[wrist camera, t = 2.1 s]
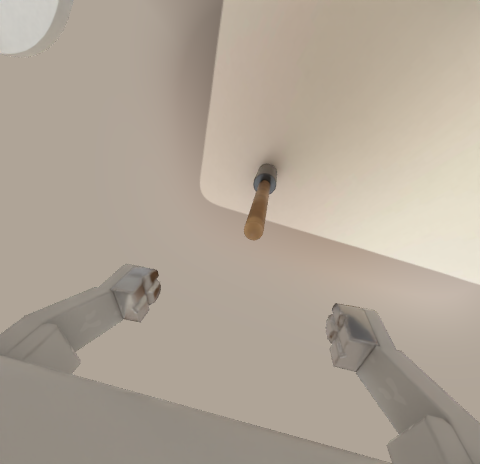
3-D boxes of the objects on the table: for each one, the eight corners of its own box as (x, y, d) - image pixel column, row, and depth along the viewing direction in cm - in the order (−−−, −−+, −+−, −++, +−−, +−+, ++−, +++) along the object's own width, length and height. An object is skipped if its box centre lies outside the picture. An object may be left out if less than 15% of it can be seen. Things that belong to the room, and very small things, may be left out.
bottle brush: (257, 181, 30) (231, 248, 14) (259, 162, 29) (233, 214, 13) (275, 183, 30) (269, 254, 14) (278, 164, 28) (276, 220, 13)
